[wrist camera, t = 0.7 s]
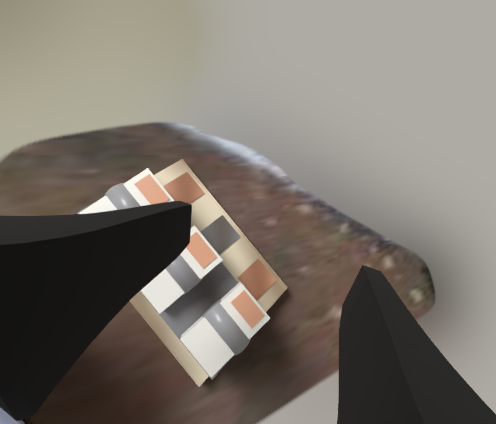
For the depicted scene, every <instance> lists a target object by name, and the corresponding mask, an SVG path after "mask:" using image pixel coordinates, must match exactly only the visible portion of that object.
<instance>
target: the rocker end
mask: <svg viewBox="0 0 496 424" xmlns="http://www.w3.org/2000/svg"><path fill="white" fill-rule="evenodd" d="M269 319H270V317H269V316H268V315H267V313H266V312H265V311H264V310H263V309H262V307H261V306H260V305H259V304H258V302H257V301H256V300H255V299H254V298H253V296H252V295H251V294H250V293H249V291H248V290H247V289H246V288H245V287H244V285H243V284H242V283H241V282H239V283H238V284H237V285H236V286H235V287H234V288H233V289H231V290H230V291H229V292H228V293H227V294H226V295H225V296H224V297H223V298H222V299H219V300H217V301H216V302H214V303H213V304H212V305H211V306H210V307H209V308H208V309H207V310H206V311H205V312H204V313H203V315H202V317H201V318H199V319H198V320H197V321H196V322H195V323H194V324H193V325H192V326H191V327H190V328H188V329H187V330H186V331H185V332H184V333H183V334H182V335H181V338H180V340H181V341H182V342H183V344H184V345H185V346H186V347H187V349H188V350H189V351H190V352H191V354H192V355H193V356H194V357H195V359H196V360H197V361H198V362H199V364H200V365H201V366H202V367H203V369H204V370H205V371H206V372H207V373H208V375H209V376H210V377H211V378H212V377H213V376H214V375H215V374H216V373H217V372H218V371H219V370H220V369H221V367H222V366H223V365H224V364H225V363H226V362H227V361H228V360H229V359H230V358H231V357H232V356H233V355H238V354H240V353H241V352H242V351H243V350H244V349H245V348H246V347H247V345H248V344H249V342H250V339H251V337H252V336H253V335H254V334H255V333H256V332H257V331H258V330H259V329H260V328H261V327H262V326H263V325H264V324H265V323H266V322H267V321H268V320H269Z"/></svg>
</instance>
